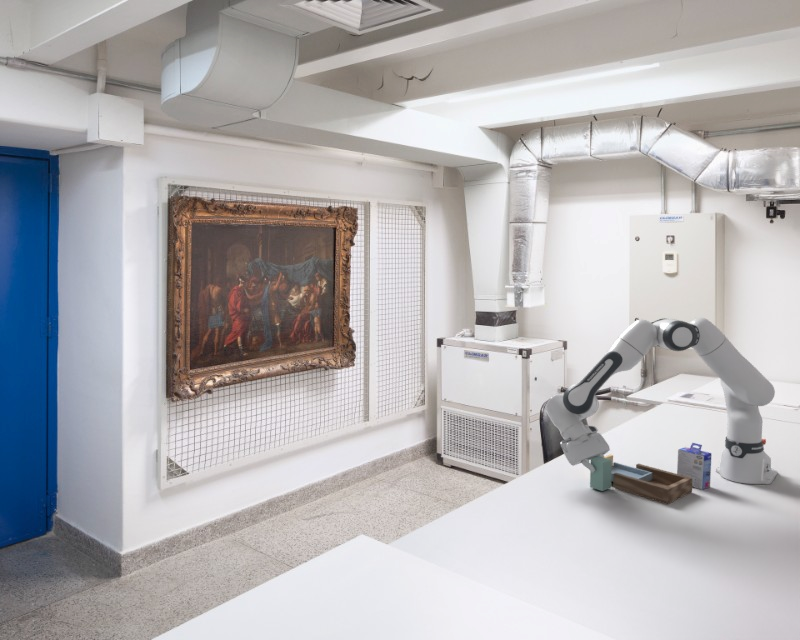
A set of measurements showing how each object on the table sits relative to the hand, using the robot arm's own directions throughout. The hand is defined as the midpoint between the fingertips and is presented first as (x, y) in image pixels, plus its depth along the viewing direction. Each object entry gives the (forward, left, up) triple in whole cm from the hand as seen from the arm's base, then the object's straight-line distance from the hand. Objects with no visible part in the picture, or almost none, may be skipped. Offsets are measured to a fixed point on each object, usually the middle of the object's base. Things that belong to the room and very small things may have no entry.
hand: (599, 469), depth 225 cm
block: (0, 0, -6) cm, 6 cm away
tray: (-13, +1, -6) cm, 14 cm away
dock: (-12, +12, -7) cm, 19 cm away
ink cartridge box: (-28, +19, -7) cm, 35 cm away
